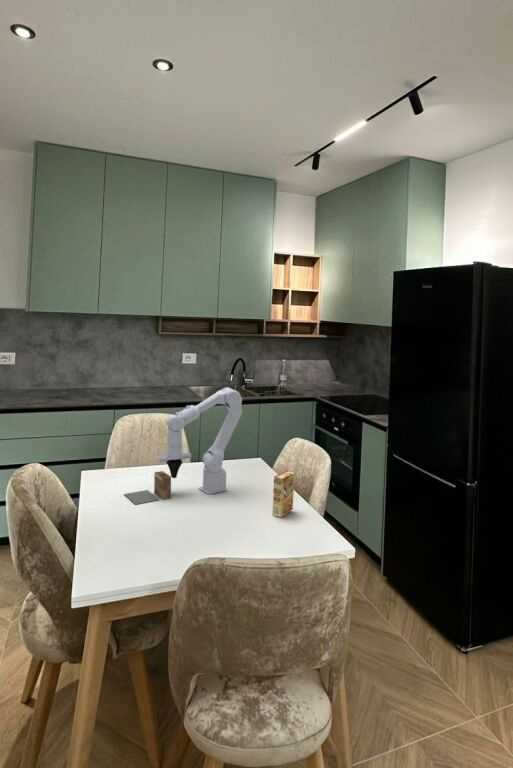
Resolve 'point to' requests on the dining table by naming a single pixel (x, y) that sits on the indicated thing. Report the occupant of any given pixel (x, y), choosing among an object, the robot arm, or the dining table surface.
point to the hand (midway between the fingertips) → (173, 477)
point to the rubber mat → (141, 497)
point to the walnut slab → (162, 485)
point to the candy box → (283, 493)
